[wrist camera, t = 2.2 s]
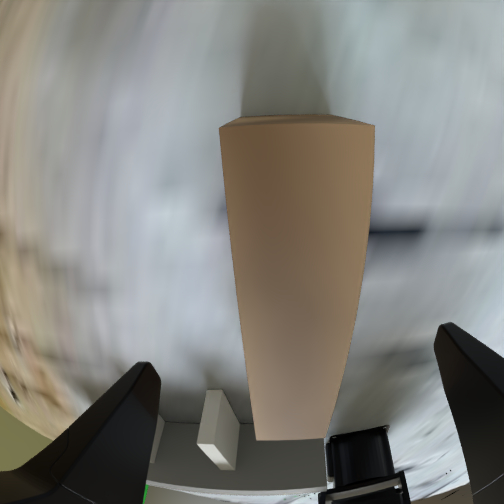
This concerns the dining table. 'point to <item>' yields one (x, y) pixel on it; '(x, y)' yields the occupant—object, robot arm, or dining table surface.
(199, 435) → the slab with two fins
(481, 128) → the dining table surface
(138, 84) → the dining table surface
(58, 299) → the dining table surface
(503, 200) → the dining table surface
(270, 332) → the rail
